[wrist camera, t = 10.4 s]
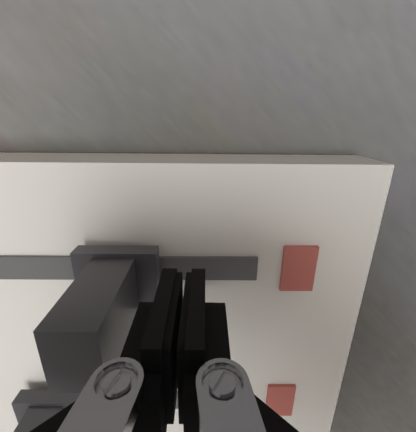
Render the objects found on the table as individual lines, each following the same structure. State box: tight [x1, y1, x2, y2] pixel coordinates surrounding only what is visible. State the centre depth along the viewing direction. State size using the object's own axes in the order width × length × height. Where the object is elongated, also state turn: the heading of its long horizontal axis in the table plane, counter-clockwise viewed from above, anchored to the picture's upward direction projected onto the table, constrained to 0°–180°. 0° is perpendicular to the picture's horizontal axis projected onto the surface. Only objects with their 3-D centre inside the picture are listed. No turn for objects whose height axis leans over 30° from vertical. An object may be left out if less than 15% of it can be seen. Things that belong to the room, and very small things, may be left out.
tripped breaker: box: [33, 245, 160, 393], centre depth 10 cm, size 4×3×5 cm
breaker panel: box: [0, 152, 395, 432], centre depth 18 cm, size 24×28×3 cm
